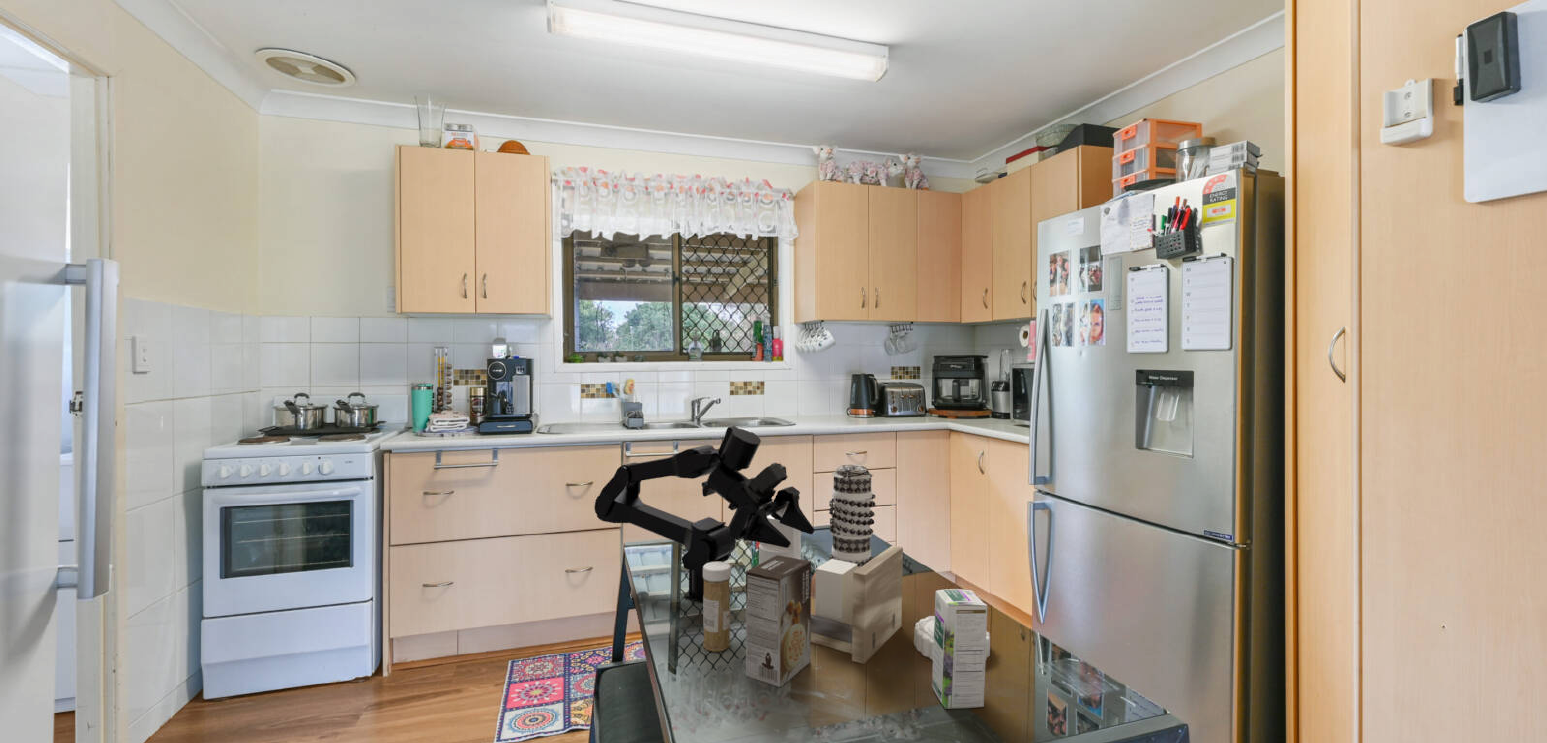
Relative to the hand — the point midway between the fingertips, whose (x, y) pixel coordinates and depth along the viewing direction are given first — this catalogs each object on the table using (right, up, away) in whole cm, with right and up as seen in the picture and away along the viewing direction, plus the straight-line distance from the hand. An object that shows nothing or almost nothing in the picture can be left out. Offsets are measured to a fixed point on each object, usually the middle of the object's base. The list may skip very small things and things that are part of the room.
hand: (801, 538), depth 116 cm
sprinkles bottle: (-14, -15, -10) cm, 23 cm away
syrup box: (+21, -16, -25) cm, 36 cm away
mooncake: (+24, -16, -9) cm, 30 cm away
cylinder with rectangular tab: (-4, -14, +24) cm, 28 cm away
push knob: (+5, -14, -4) cm, 15 cm away
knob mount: (+9, -15, -6) cm, 18 cm away
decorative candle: (+10, -14, +14) cm, 23 cm away
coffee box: (-4, -16, -17) cm, 24 cm away
